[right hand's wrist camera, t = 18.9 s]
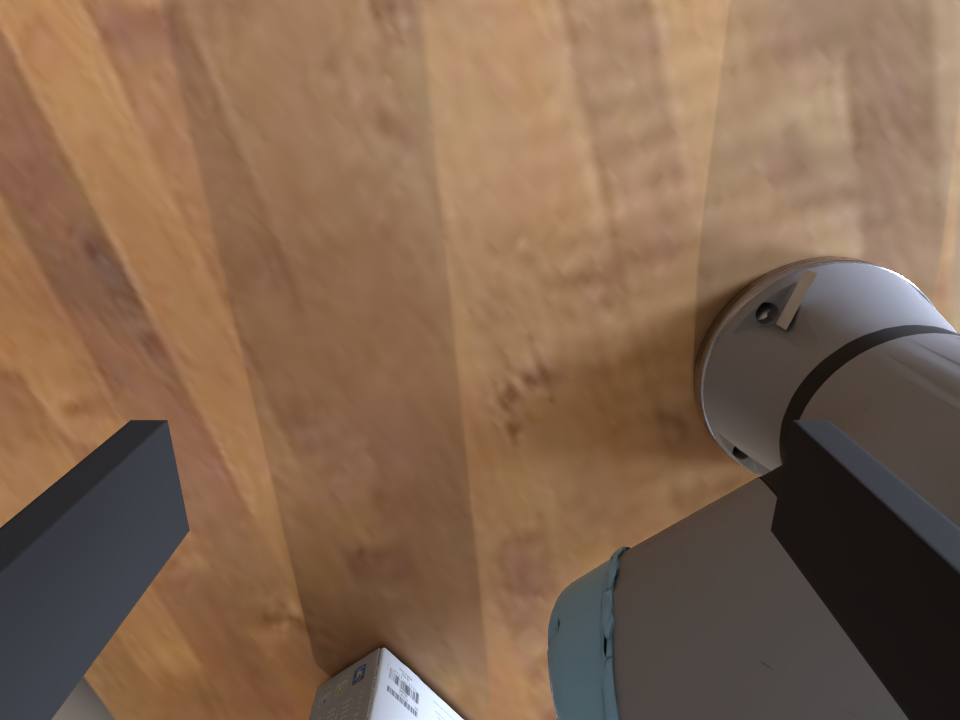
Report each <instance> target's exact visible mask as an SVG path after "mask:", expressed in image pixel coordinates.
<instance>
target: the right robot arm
mask: <svg viewBox="0 0 960 720" xmlns="http://www.w3.org/2000/svg"><path fill="white" fill-rule="evenodd" d="M694 392H695V400H696V404H697V408H698V411H699V414H700V416H701V419H702V421H703V423H704V425H705V426H706V428H707V429H708V431H709V432H710V434H711V435H712V437H713V438H714V439H715V440H716V442H717V443H718V444H719V446H720V447H721V448H722V449H723V450H724V452H725V453H726V454H727V455H729V456H730V457H731V458H732V459H733V460H734V461H736V462H737V463H738V464H740V465H741V466H743V467H745V468H746V469H748V470H750V471H752V472H754V473H755V474H757V475H759V476H761V477H759V478H756V479H754V480H752V481H750V482H749V483H747V484H745V485H743V486H741V487H740V488H738V489H736V490H734V491H733V492H731V493H729V494H727V495H725V496H724V497H722V498H720V499H718V500H716V501H715V502H713V503H711V504H709V505H707V506H706V507H704V508H702V509H700V510H699V511H697V512H695V513H693V514H691V515H690V516H688V517H686V518H684V519H682V520H681V521H679V522H677V523H675V524H674V525H672V526H670V527H668V528H666V529H665V530H663V531H661V532H659V533H657V534H656V535H654V536H652V537H650V538H649V539H647V540H645V541H643V542H641V543H640V544H638V545H636V546H634V547H632V548H629V547H622V548H620V549H618V550H617V551H615V552H614V553H613V555H612V557H611V559H609V560H608V561H606V562H605V563H603V564H601V565H600V566H598V567H597V568H595V569H593V570H592V571H590V572H589V573H587V574H586V575H584V576H582V577H581V578H579V579H578V580H576V581H574V582H573V583H571V584H570V585H569V586H568V587H567V588H565V590H564V591H563V592H562V593H561V594H560V596H559V597H558V599H557V601H556V603H555V606H554V608H553V610H552V613H551V618H550V623H549V628H548V668H549V677H550V685H551V691H552V697H553V702H554V707H555V711H556V716H557V720H960V334H958V333H957V332H956V331H955V330H954V329H953V327H952V326H951V325H950V324H949V323H948V322H947V321H946V320H945V319H944V318H943V316H942V315H941V314H940V313H939V312H938V311H937V310H936V309H935V308H934V306H933V305H932V303H931V302H930V301H929V299H928V298H927V297H926V296H925V295H924V294H923V293H922V292H921V291H920V290H919V289H918V288H917V287H916V286H915V285H914V284H912V283H911V282H910V281H908V280H907V279H905V278H904V277H902V276H901V275H899V274H897V273H895V272H893V271H891V270H888V269H885V268H883V267H880V266H877V265H874V264H871V263H868V262H865V261H861V260H857V259H852V258H845V257H818V258H811V259H806V260H802V261H797V262H794V263H791V264H788V265H785V266H782V267H780V268H778V269H775V270H773V271H771V272H769V273H767V274H765V275H764V276H762V277H760V278H758V279H757V280H755V281H754V282H752V283H751V284H749V285H748V286H747V287H746V288H744V289H743V290H742V291H740V292H739V293H738V294H737V295H736V296H735V297H734V298H733V299H732V300H731V301H730V302H729V303H728V304H727V305H726V306H725V307H724V308H723V310H722V311H721V312H720V314H719V315H718V316H717V317H716V319H715V320H714V322H713V323H712V325H711V327H710V328H709V330H708V332H707V334H706V336H705V338H704V340H703V343H702V345H701V348H700V350H699V354H698V357H697V361H696V367H695V374H694ZM188 532H189V525H188V520H187V515H186V510H185V505H184V500H183V495H182V490H181V485H180V480H179V476H178V471H177V466H176V461H175V456H174V451H173V446H172V441H171V436H170V431H169V426H168V421H167V420H131V421H129V422H128V423H127V424H126V425H125V426H123V427H122V428H121V429H120V430H119V431H117V432H116V433H115V434H114V435H113V436H111V437H110V438H109V439H108V440H106V441H105V442H104V443H103V444H102V445H100V446H99V447H98V448H97V449H96V450H94V451H93V452H92V453H91V454H89V455H88V456H87V457H86V458H85V459H83V460H82V461H81V462H80V463H79V464H77V465H76V466H75V467H74V468H72V469H71V470H70V471H69V472H68V473H66V474H65V475H64V476H63V477H62V478H60V479H59V480H58V481H57V482H56V483H54V484H53V485H52V486H51V487H49V488H48V489H47V490H46V491H45V492H43V493H42V494H41V495H40V496H39V497H37V498H36V499H35V500H34V501H32V502H31V503H30V504H29V505H28V506H26V507H25V508H24V509H23V510H22V511H20V512H19V513H18V514H17V515H15V516H14V517H13V518H12V519H11V520H9V521H8V522H7V523H6V524H5V525H3V526H2V527H1V528H0V720H51V719H52V718H53V717H54V715H55V714H56V712H57V711H58V710H59V708H60V707H61V706H62V704H63V703H64V702H65V700H66V699H67V697H68V696H69V695H70V693H71V692H72V691H73V689H74V688H75V686H76V685H77V684H78V682H79V681H80V680H81V678H82V677H83V676H84V674H85V673H86V671H87V670H88V669H89V667H90V666H91V665H92V663H93V662H94V660H95V659H96V658H97V656H98V655H99V654H100V652H101V651H102V649H103V648H104V647H105V645H106V644H107V643H108V641H109V640H110V639H111V637H112V636H113V634H114V633H115V632H116V630H117V629H118V628H119V626H120V625H121V623H122V622H123V621H124V619H125V618H126V617H127V615H128V614H129V613H130V611H131V610H132V608H133V607H134V606H135V604H136V603H137V602H138V600H139V599H140V597H141V596H142V595H143V593H144V592H145V591H146V589H147V588H148V586H149V585H150V584H151V582H152V581H153V580H154V578H155V577H156V576H157V574H158V573H159V571H160V570H161V569H162V567H163V566H164V565H165V563H166V562H167V560H168V559H169V558H170V556H171V555H172V554H173V552H174V551H175V550H176V548H177V547H178V545H179V544H180V543H181V541H182V540H183V539H184V537H185V536H186V534H187V533H188Z"/></svg>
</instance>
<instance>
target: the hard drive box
mask: <svg viewBox="0 0 960 720" xmlns="http://www.w3.org/2000/svg"><path fill="white" fill-rule="evenodd" d="M309 720H464V719H462V718H461V717H460V716H459V715H458V714H457V713H456V712H455V711H454V710H452V709H451V708H450V707H449V706H448V705H447V704H446V703H445V702H444V701H443V700H442V699H441V698H439V697H438V696H437V695H436V694H435V693H434V692H433V691H432V690H431V689H430V688H429V687H428V686H427V685H425V684H424V683H423V682H422V681H421V680H420V678H419V677H418V676H417V675H415V674H414V673H413V672H412V671H411V670H410V669H409V668H408V667H407V666H405V665H404V664H402V663H401V662H400V661H399V660H398V659H397V658H396V657H395V656H394V655H393V654H392V653H391V652H390V651H388V650H387V649H386V648H382V649H380V648H378V649H376V650H375V651H373V652H372V653H370V654H368V655H367V656H365V657H364V658H362V659H361V660H359V661H358V662H356V663H354V664H353V665H351V666H350V667H348V668H347V669H345V670H344V671H342V672H340V673H339V674H337V675H336V676H334V677H332V678H331V679H329V680H328V681H326V682H325V683H323V684H322V685H320V686H319V687H318V688H317V692H316V695H315V699H314V702H313V706H312V710H311V713H310V717H309Z"/></svg>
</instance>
